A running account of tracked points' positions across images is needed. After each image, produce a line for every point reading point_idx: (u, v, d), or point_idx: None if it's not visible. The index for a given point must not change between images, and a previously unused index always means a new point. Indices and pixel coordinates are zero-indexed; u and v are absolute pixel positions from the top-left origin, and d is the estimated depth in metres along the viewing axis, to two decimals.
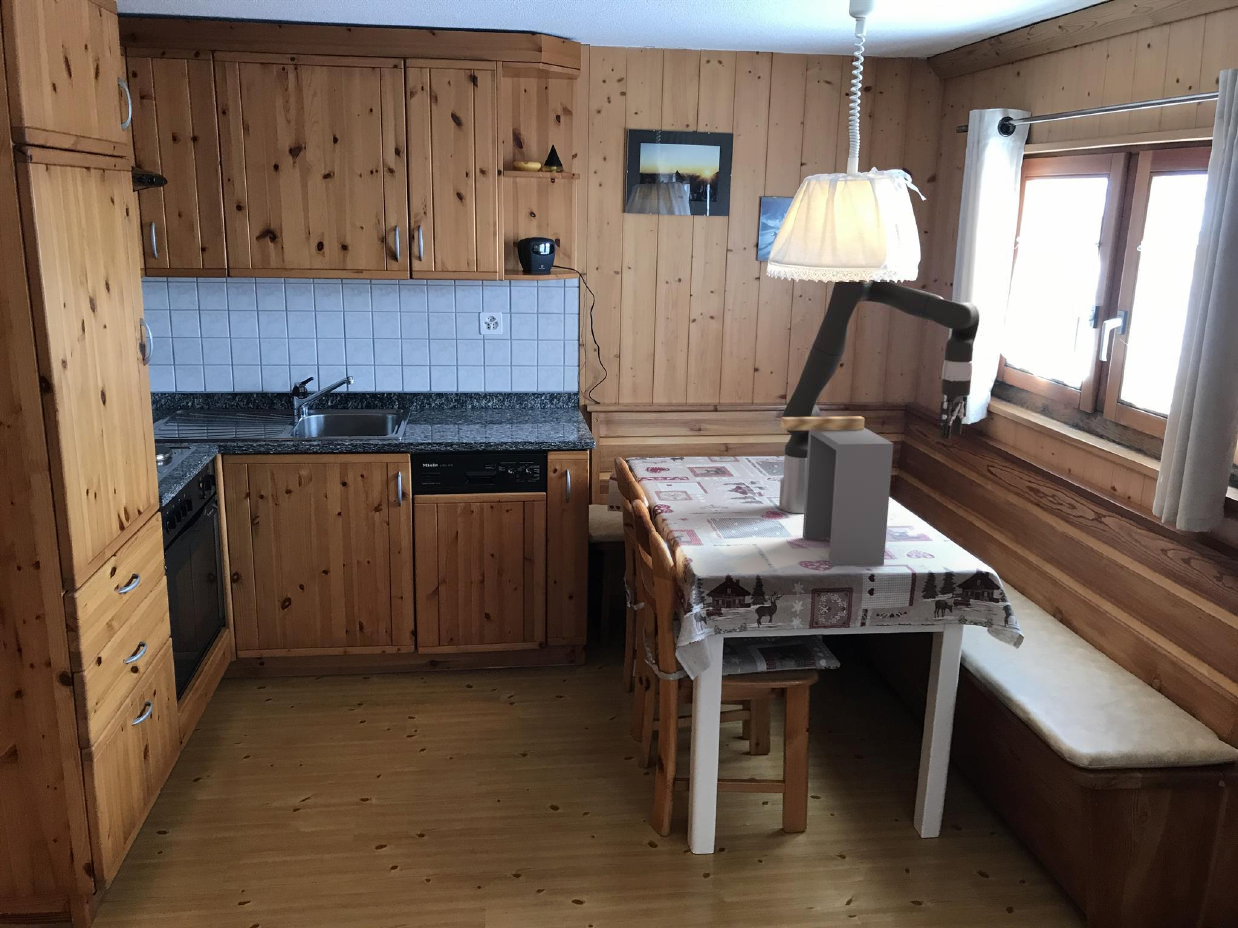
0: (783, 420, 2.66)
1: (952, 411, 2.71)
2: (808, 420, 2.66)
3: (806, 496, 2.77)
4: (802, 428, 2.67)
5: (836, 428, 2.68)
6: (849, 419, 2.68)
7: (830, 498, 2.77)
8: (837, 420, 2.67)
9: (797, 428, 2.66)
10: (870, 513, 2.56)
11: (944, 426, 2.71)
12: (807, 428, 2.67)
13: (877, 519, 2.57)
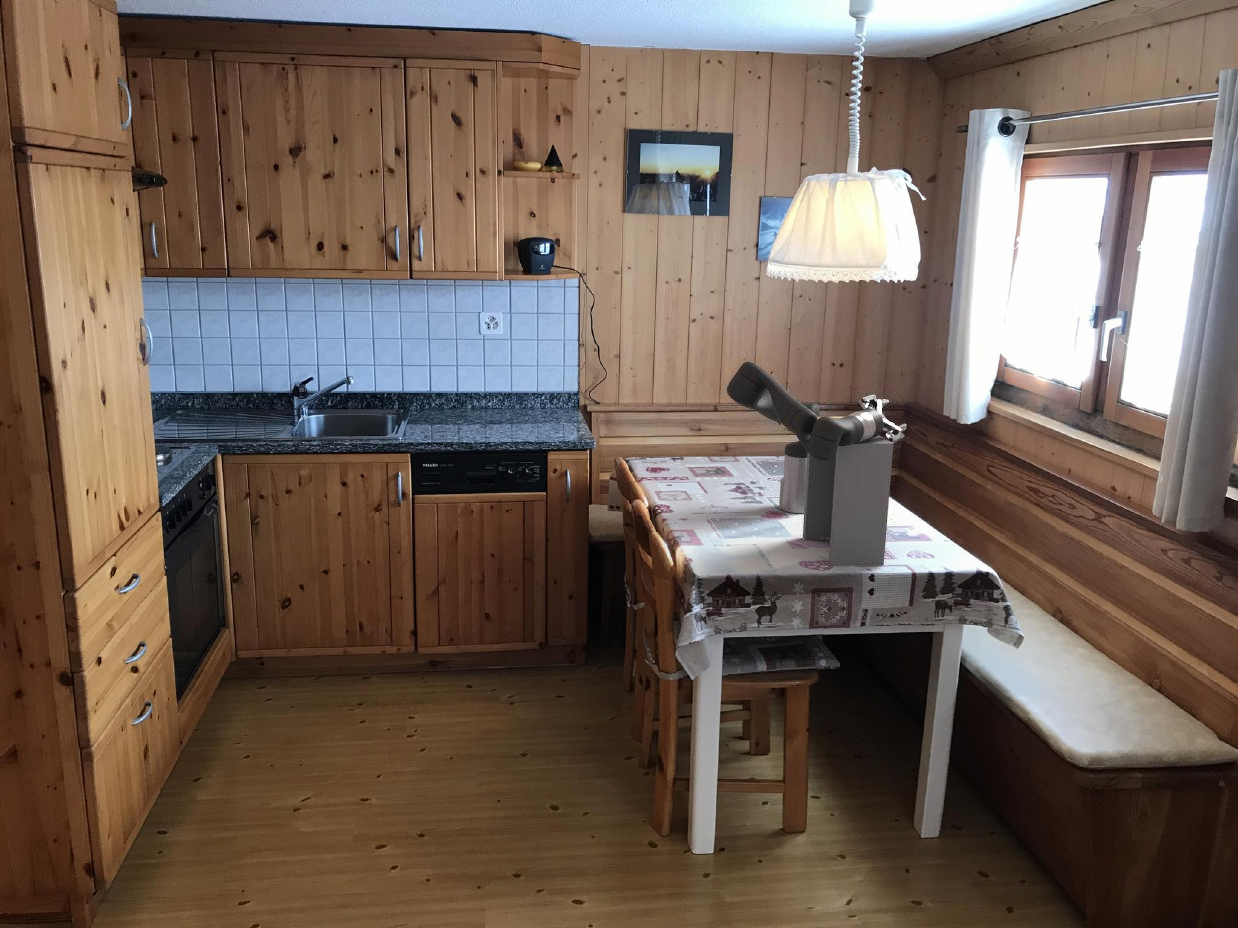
0: None
1: None
2: None
3: (806, 496, 2.77)
4: None
5: None
6: None
7: (830, 498, 2.77)
8: None
9: None
10: (870, 513, 2.56)
11: None
12: None
13: (877, 519, 2.57)
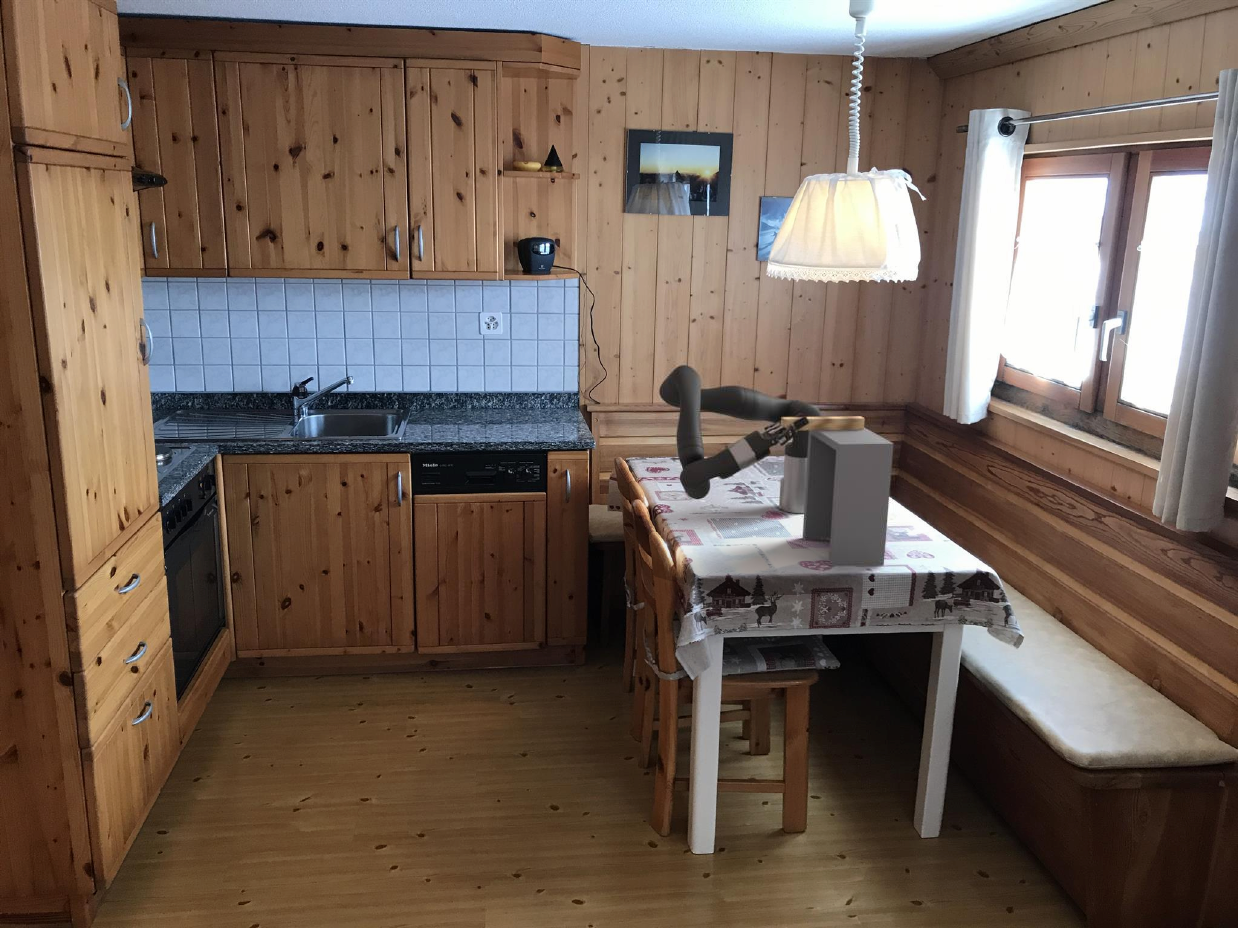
0: (783, 420, 2.66)
1: None
2: (808, 420, 2.66)
3: (806, 496, 2.77)
4: (802, 428, 2.67)
5: (836, 428, 2.68)
6: (849, 419, 2.68)
7: (830, 498, 2.77)
8: (837, 420, 2.67)
9: None
10: (870, 513, 2.56)
11: (797, 427, 2.65)
12: (807, 428, 2.67)
13: (877, 519, 2.57)
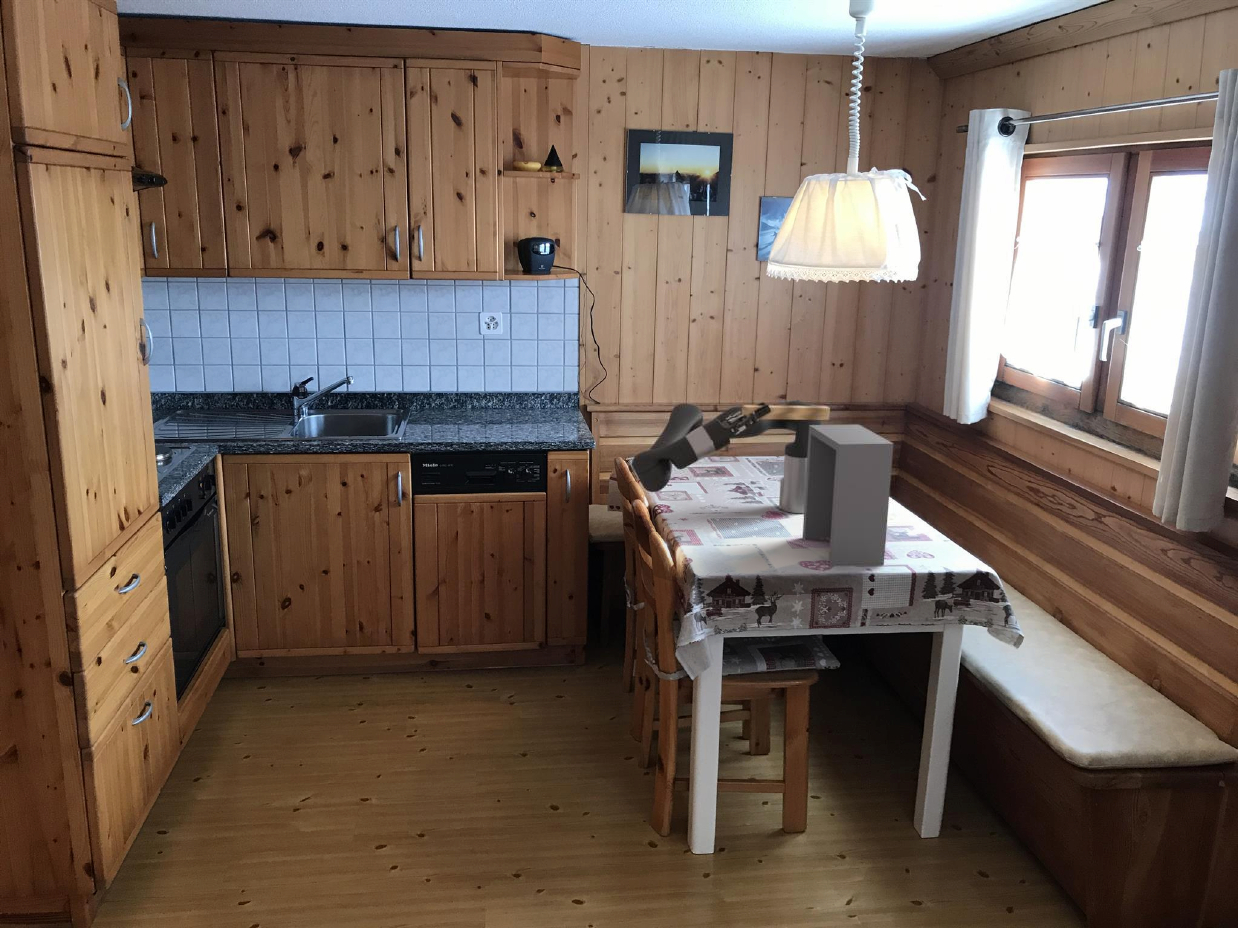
0: (744, 408, 2.53)
1: None
2: (770, 408, 2.53)
3: (806, 496, 2.77)
4: (764, 417, 2.53)
5: (800, 418, 2.55)
6: (814, 409, 2.55)
7: (830, 498, 2.77)
8: (801, 409, 2.54)
9: None
10: (870, 513, 2.56)
11: (758, 415, 2.52)
12: (769, 417, 2.54)
13: (877, 519, 2.57)
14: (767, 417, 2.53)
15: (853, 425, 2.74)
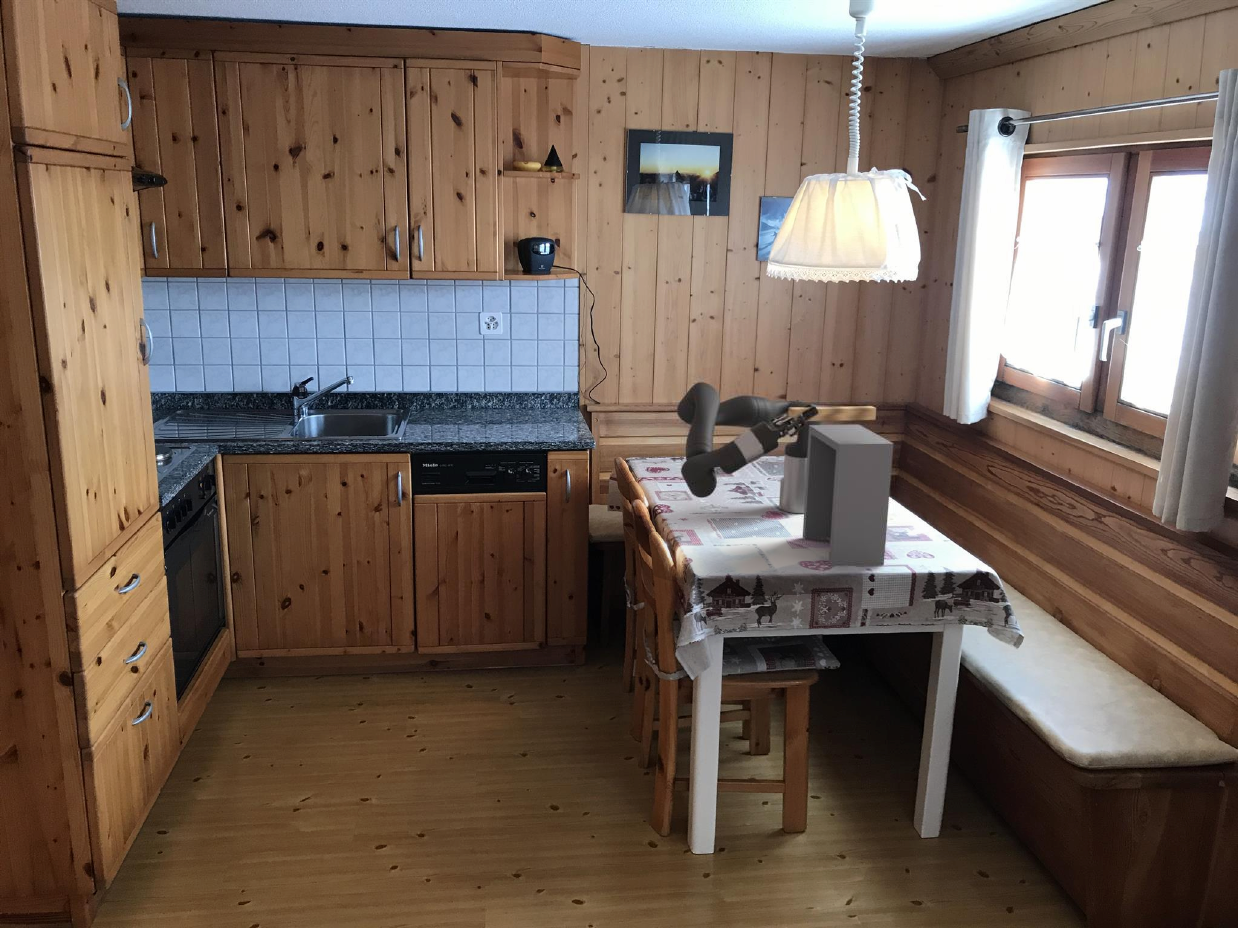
0: (791, 410, 2.51)
1: None
2: None
3: (806, 496, 2.77)
4: (811, 419, 2.51)
5: (846, 418, 2.53)
6: (860, 409, 2.53)
7: (830, 498, 2.77)
8: (847, 410, 2.53)
9: None
10: (870, 513, 2.56)
11: (806, 418, 2.50)
12: (816, 419, 2.52)
13: (877, 519, 2.57)
14: (814, 419, 2.52)
15: (853, 425, 2.74)
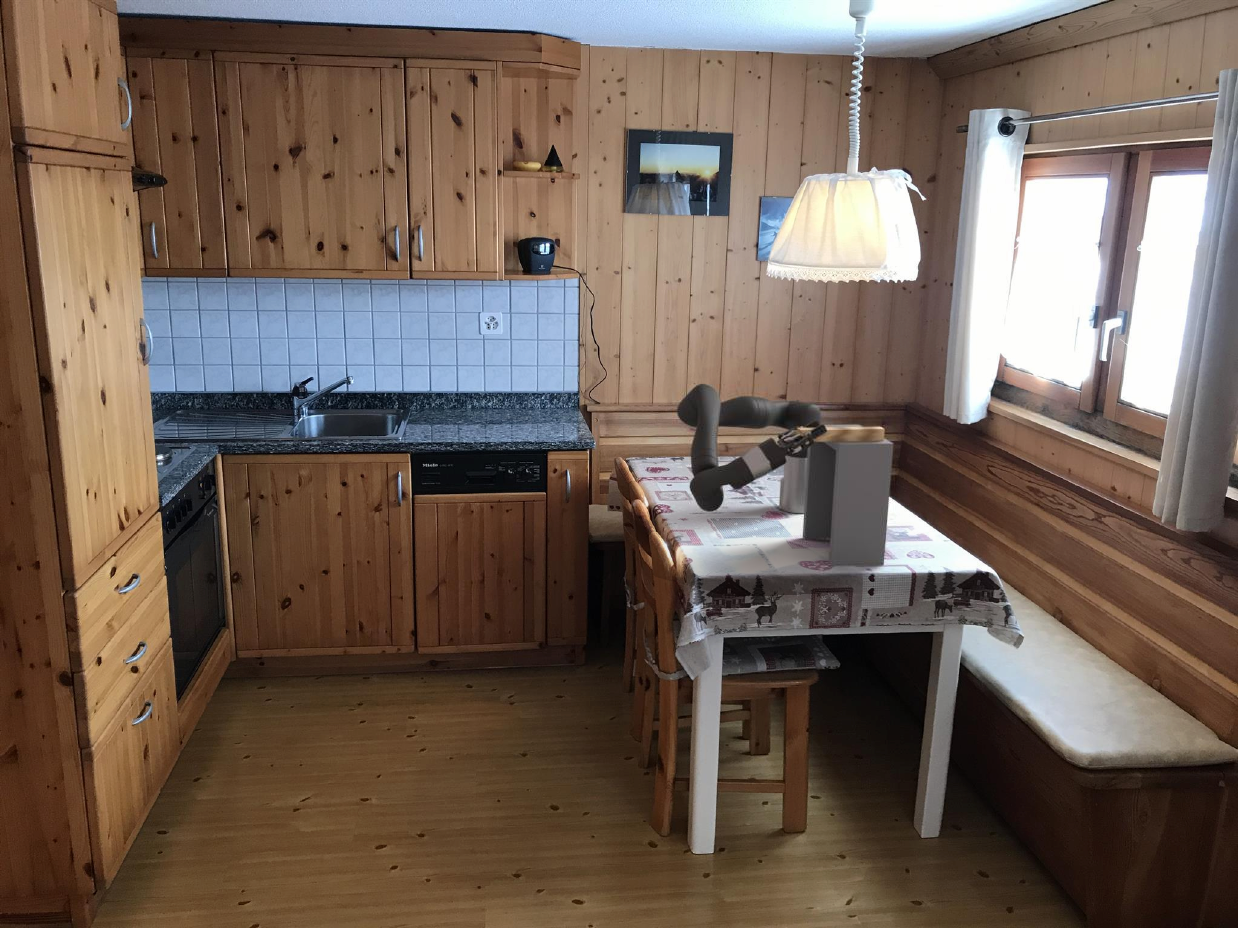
0: (799, 431, 2.53)
1: (796, 440, 2.52)
2: None
3: (806, 496, 2.77)
4: (819, 439, 2.53)
5: (855, 439, 2.54)
6: (868, 430, 2.54)
7: (830, 498, 2.77)
8: (855, 431, 2.54)
9: None
10: (870, 513, 2.56)
11: (814, 436, 2.50)
12: (824, 439, 2.53)
13: (877, 519, 2.57)
14: (822, 439, 2.53)
15: (853, 425, 2.74)
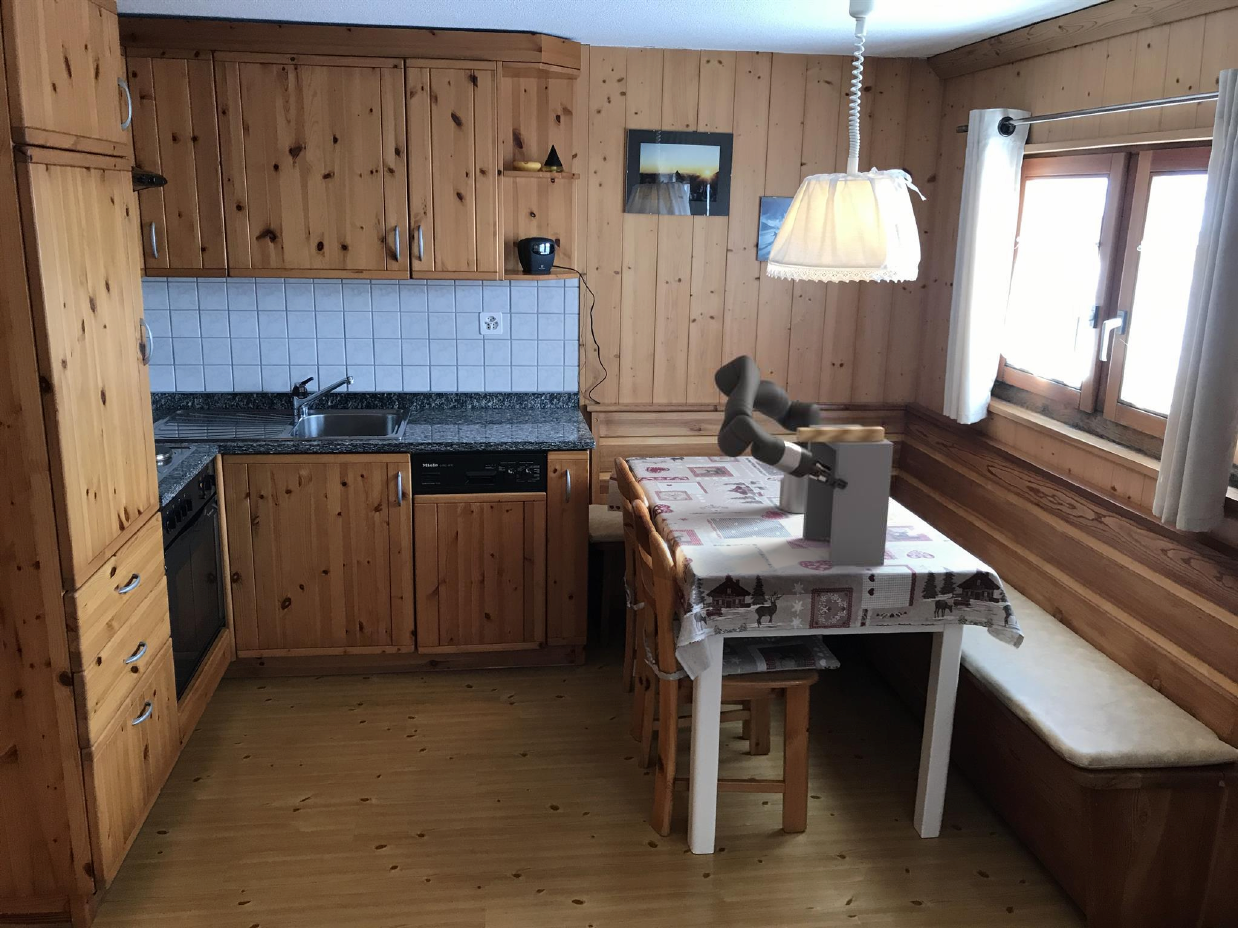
0: (799, 431, 2.53)
1: (822, 471, 2.50)
2: (825, 431, 2.53)
3: (806, 496, 2.77)
4: (819, 439, 2.53)
5: (855, 439, 2.54)
6: (868, 430, 2.54)
7: (830, 498, 2.77)
8: (855, 431, 2.54)
9: (814, 439, 2.53)
10: (870, 513, 2.56)
11: None
12: (824, 439, 2.53)
13: (877, 519, 2.57)
14: (822, 439, 2.53)
15: (853, 425, 2.74)
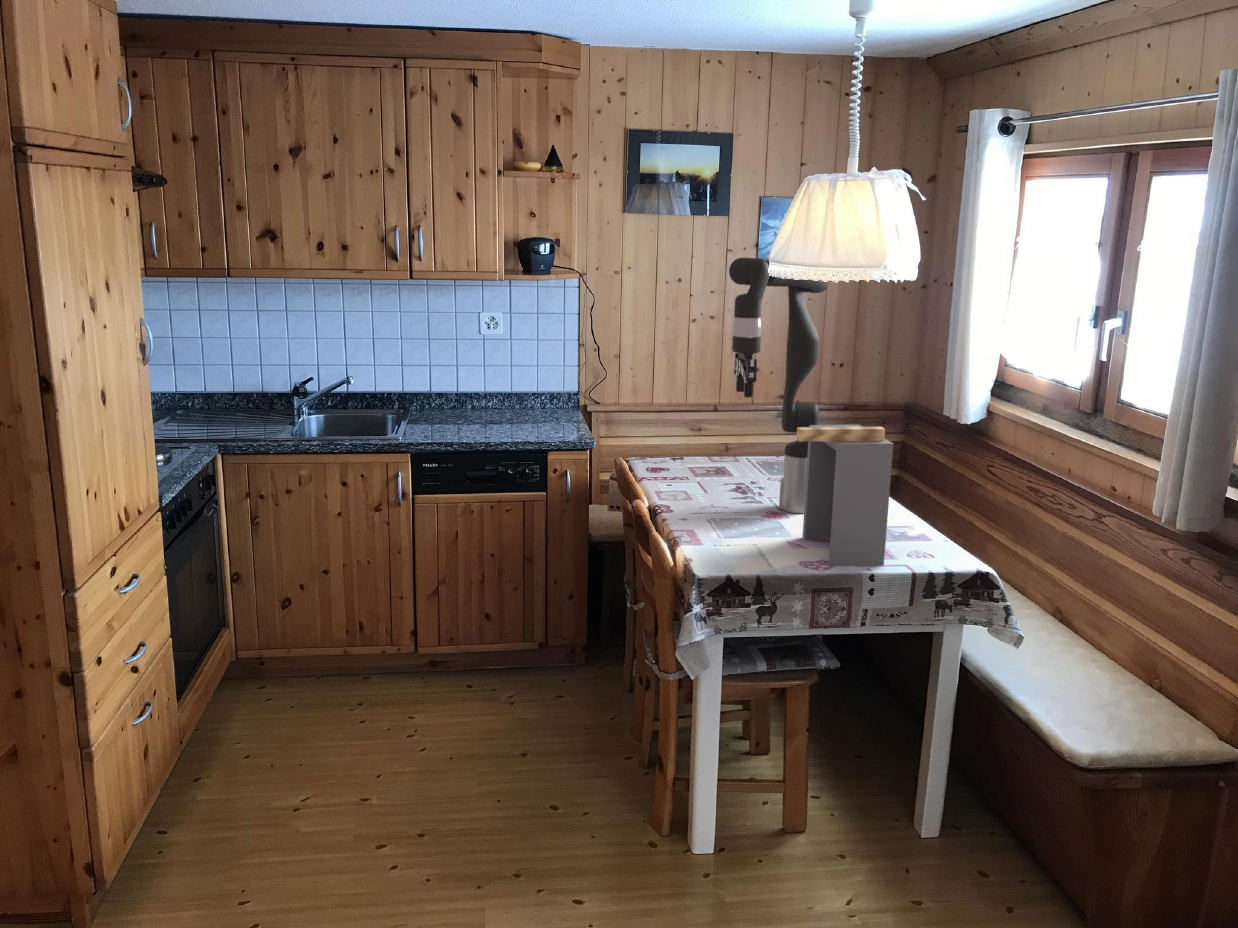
0: (799, 430, 2.53)
1: None
2: (825, 431, 2.53)
3: (806, 496, 2.77)
4: (819, 439, 2.53)
5: (855, 439, 2.55)
6: (869, 430, 2.54)
7: (830, 498, 2.77)
8: (856, 431, 2.54)
9: (814, 439, 2.53)
10: (870, 513, 2.56)
11: (748, 384, 2.66)
12: (824, 439, 2.54)
13: (877, 519, 2.57)
14: (822, 439, 2.54)
15: (853, 425, 2.74)
